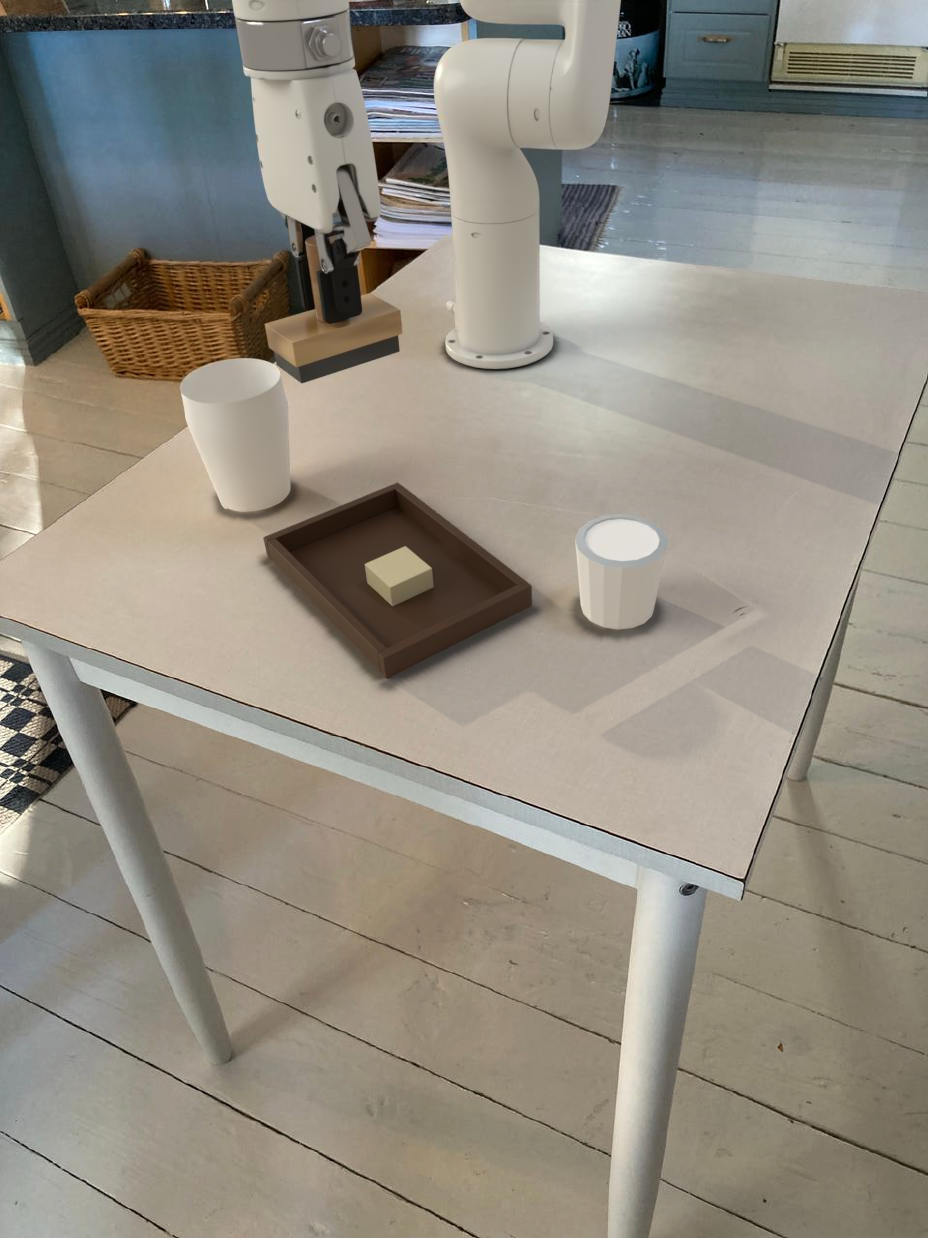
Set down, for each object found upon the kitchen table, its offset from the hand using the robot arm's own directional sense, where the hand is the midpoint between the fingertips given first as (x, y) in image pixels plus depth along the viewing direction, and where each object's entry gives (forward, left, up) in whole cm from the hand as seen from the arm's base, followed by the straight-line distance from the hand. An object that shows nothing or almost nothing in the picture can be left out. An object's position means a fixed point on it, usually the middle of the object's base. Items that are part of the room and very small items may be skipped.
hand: (332, 309), depth 78 cm
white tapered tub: (+24, +9, -20) cm, 33 cm away
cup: (-10, -6, -20) cm, 23 cm away
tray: (+10, -3, -20) cm, 22 cm away
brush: (0, 0, -4) cm, 4 cm away
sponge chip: (+11, -3, -19) cm, 22 cm away
